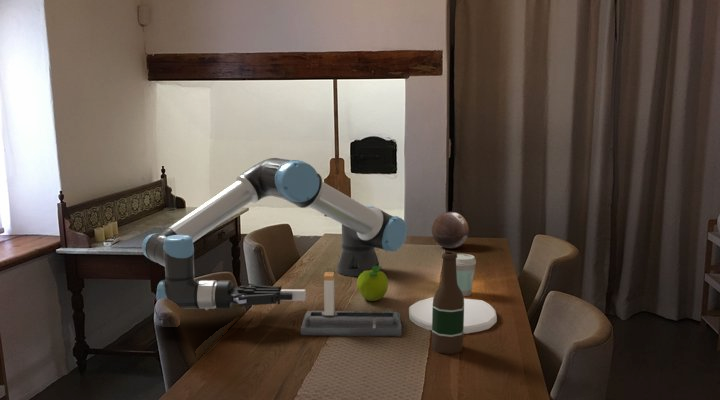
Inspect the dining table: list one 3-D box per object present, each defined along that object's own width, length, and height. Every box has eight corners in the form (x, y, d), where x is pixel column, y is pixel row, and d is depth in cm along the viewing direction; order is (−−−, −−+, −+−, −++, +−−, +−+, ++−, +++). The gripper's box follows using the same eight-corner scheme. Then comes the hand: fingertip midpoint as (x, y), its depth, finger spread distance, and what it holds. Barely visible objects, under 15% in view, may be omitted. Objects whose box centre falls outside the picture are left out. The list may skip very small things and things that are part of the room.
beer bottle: (428, 342, 159) (430, 249, 156) (459, 342, 160) (461, 248, 156) (434, 355, 152) (436, 257, 148) (466, 354, 152) (469, 256, 149)
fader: (321, 321, 168) (320, 276, 166) (322, 316, 172) (322, 271, 170) (336, 321, 168) (336, 276, 166) (337, 316, 172) (337, 272, 170)
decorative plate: (420, 287, 194) (503, 296, 185) (420, 300, 194) (502, 309, 186) (396, 313, 171) (489, 324, 162) (396, 328, 171) (489, 339, 163)
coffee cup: (475, 298, 195) (476, 260, 193) (447, 296, 197) (447, 259, 195) (475, 290, 203) (476, 253, 201) (448, 288, 205) (449, 252, 203)
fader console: (300, 335, 165) (300, 321, 164) (305, 319, 176) (305, 306, 176) (401, 336, 164) (401, 322, 163) (399, 320, 176) (399, 307, 175)
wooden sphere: (462, 253, 252) (463, 216, 250) (426, 250, 258) (427, 213, 256) (472, 246, 265) (473, 210, 263) (438, 242, 272) (438, 208, 269)
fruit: (391, 296, 197) (391, 265, 195) (382, 305, 188) (382, 273, 187) (363, 293, 200) (363, 262, 198) (353, 302, 191) (353, 270, 190)
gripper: (223, 300, 176) (308, 301, 176) (211, 316, 164) (302, 317, 163) (222, 274, 175) (307, 274, 175) (210, 288, 162) (302, 288, 162)
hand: (305, 295), depth 169 cm, fingers closed
